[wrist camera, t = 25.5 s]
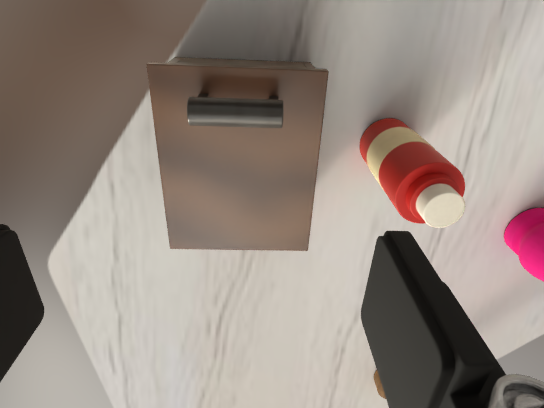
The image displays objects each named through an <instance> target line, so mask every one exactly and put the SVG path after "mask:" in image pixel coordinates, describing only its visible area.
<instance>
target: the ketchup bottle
mask: <svg viewBox="0 0 544 408" xmlns="http://www.w3.org/2000/svg"><path fill="white" fill-rule="evenodd" d="M360 152H361V155H362V157H363V159H364V160H365V162H366V163H367V165H368V167H369V169H370V170H371V172H372V173H373V175H374V177H375V178H376V180H377V181H378V183H379V184H380V186H381V187H382V189H383V190H384V191H385V192H386V194H387V195H388V197H389V198H390V200H391V202H392V203H393V205H394V206H395V208H396V209H397V211H398V212H399V213H400V215H401V216H402V217H403V218H405V219H406V220H408V221H411V222H414V223H427V224H428V225H429V226H432V227H435V228H443V227H447V226H450V225H452V224H454V223H455V222H457V221H458V220H459V219H460V218H461V216H462V215H463V213H464V210H465V202H464V199H463V198H462V197H463V195H464V190H465V182H464V178H463V175H462V174H461V172H460V171H459V170H458V169H457V168H456V167H455V166H454V165H452V164H451V163H450V162H449V161H448V160H447V159H445V158H444V157H443V156H442V155H441V154H440V153H438V152H437V151H436V150H435V149H434V148H433V147H432V146H431V145H430V144H429V143H428V142H426V141H425V140H424V139H423V138H422V137H421V136H419V135H418V134H417V133H416V132H415V131H413V130H411V129H410V128H409V127H408V126H407V125H406V124H404V123H403V122H402V121H400V120H397V119H393V118H386V119H382V120H379V121H377V122H375V123H373V124H372V125H370V126H369V127H368V128H367V129H366V131H365V132H364V134H363V136H362V138H361V141H360Z"/></svg>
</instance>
